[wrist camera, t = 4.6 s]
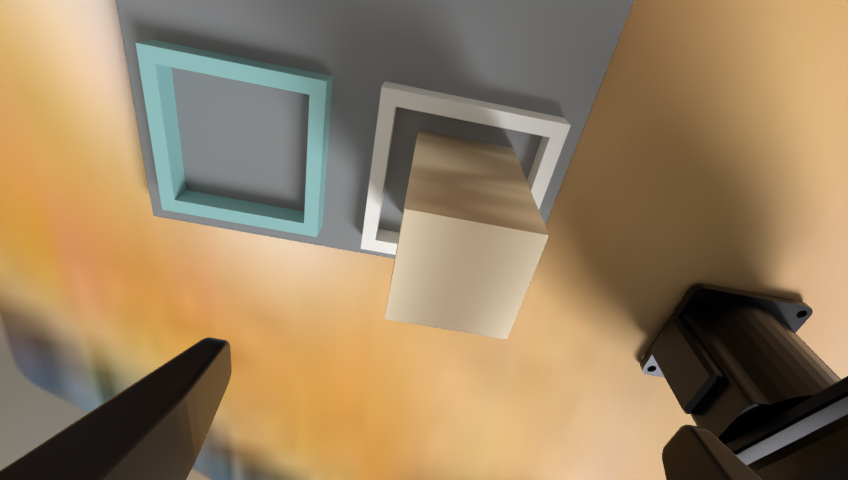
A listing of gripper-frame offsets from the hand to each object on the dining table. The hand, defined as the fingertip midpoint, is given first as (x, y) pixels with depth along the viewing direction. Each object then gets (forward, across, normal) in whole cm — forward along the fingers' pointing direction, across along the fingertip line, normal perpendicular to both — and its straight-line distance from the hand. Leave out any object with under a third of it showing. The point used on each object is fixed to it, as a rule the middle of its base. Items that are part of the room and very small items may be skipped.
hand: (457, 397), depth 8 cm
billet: (+12, 0, 0) cm, 12 cm away
